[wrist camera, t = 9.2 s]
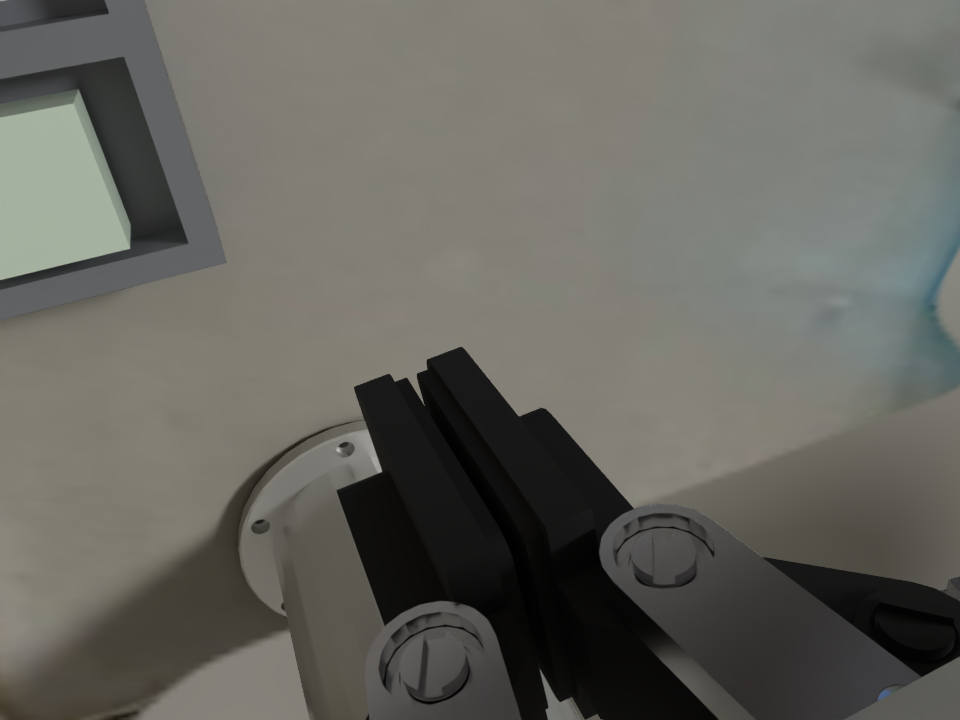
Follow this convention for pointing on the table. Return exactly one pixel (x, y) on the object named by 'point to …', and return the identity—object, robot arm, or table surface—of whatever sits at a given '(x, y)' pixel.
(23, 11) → the grey compartment tray
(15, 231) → the sage key
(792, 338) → the table surface
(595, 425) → the table surface
